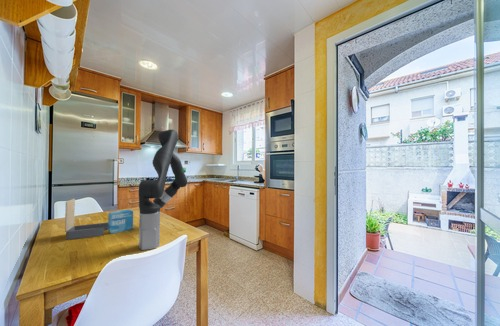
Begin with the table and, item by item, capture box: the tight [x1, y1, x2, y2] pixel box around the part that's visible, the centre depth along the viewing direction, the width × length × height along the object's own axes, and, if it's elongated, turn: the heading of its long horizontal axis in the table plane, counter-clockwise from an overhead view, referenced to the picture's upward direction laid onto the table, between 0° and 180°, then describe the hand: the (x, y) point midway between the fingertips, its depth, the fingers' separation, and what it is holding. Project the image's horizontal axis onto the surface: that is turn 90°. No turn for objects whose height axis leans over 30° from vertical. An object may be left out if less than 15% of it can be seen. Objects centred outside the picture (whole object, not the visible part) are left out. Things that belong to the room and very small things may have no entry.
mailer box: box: [64, 198, 108, 241], centre depth 107 cm, size 10×17×20 cm, turn 116°
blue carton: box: [107, 209, 134, 234], centre depth 114 cm, size 12×4×12 cm, turn 139°
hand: (141, 219), depth 119 cm, fingers closed
